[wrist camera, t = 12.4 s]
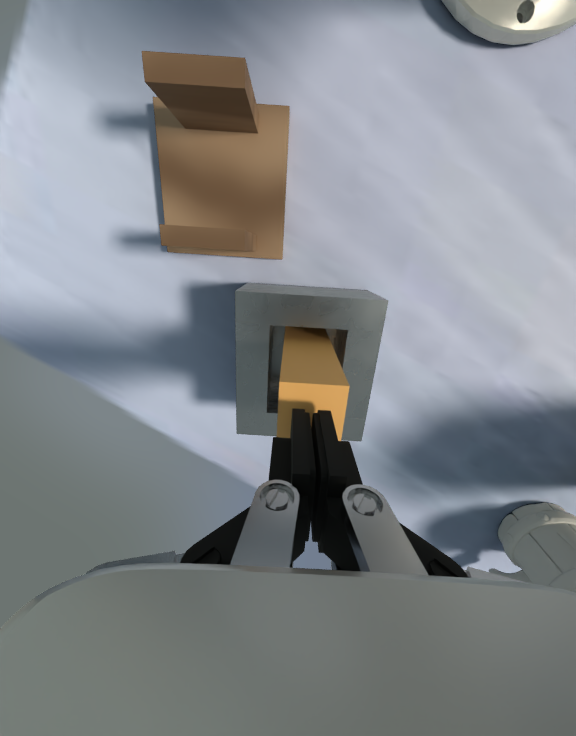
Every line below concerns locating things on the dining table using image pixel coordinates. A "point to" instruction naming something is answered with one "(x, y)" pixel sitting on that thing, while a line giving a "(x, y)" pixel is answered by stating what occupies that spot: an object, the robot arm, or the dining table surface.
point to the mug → (541, 545)
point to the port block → (266, 338)
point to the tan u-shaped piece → (217, 157)
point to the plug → (310, 378)
